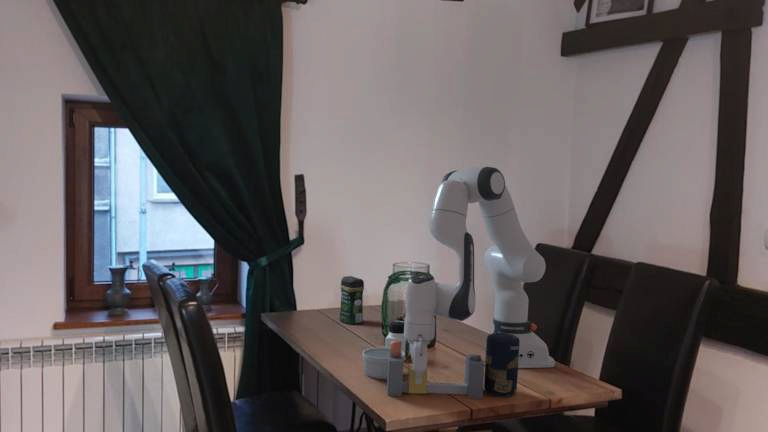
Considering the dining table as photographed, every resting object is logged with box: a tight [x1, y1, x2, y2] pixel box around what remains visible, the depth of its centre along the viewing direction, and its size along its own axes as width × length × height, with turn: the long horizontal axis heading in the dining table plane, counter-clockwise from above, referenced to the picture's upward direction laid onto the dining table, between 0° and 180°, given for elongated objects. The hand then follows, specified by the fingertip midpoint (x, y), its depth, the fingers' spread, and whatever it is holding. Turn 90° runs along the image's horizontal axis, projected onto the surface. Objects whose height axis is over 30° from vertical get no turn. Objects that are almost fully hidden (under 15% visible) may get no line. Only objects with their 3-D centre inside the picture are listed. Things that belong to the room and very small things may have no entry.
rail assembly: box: [386, 352, 485, 399], centre depth 205 cm, size 27×9×11 cm, turn 91°
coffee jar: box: [339, 275, 365, 325], centre depth 287 cm, size 10×8×19 cm
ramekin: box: [362, 347, 405, 380], centre depth 220 cm, size 13×13×7 cm
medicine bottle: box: [384, 320, 410, 361], centre depth 240 cm, size 7×7×12 cm
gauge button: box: [390, 340, 402, 357], centre depth 204 cm, size 3×3×4 cm
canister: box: [483, 332, 520, 397], centre depth 206 cm, size 10×10×18 cm
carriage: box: [407, 363, 428, 395], centre depth 205 cm, size 5×6×7 cm
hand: (417, 378), depth 205 cm, fingers open, 8 cm apart
